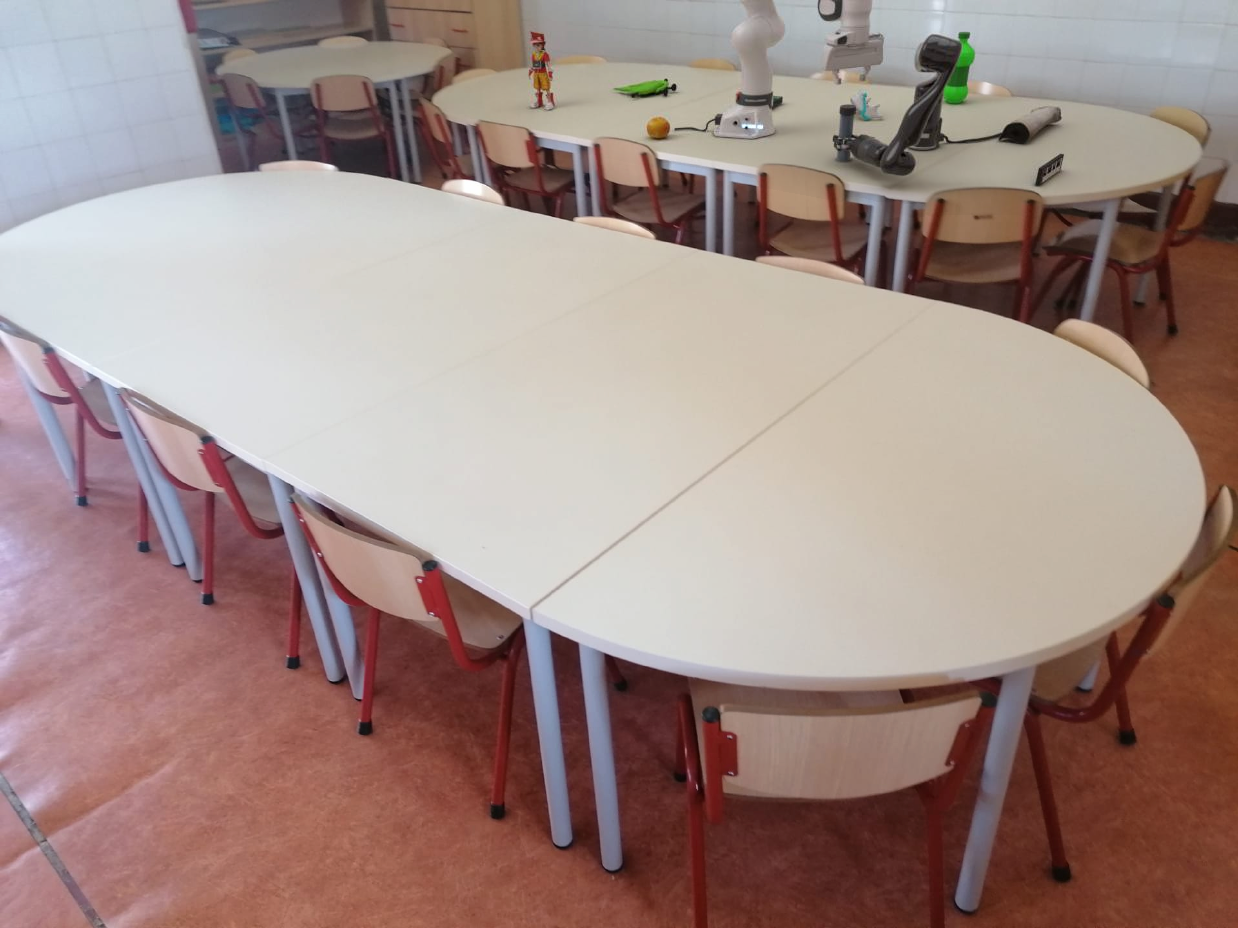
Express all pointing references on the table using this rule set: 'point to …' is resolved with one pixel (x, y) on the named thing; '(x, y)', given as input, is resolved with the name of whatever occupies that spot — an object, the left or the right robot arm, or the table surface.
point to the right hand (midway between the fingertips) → (840, 137)
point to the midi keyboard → (1049, 169)
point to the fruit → (658, 127)
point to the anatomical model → (865, 106)
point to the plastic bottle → (960, 72)
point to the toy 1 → (541, 71)
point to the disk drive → (777, 101)
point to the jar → (845, 135)
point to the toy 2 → (648, 88)
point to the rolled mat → (1030, 124)
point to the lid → (847, 109)
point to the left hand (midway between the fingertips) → (850, 82)
